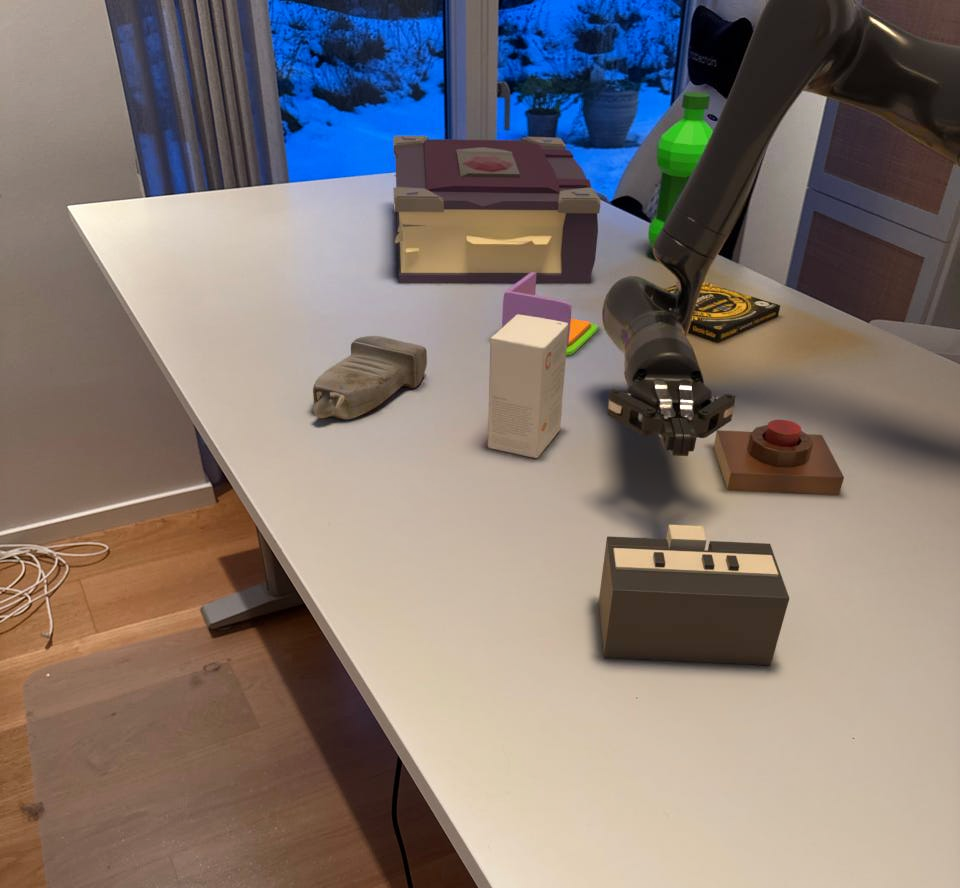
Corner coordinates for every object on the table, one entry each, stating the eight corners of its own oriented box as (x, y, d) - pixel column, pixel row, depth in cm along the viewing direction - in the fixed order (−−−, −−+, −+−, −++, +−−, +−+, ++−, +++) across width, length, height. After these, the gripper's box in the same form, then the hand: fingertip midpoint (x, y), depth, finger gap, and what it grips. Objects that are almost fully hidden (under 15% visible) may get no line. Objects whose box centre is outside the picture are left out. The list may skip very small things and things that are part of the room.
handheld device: (284, 418, 114) (280, 380, 111) (372, 361, 128) (370, 327, 125) (353, 436, 111) (350, 398, 108) (435, 376, 125) (435, 341, 122)
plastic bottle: (644, 264, 164) (666, 98, 148) (643, 246, 172) (663, 87, 156) (703, 268, 163) (731, 102, 147) (699, 249, 171) (725, 90, 155)
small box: (511, 420, 115) (516, 312, 107) (561, 430, 113) (570, 321, 105) (485, 448, 109) (488, 336, 101) (537, 460, 107) (545, 347, 99)
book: (562, 209, 189) (568, 130, 181) (602, 285, 154) (611, 192, 146) (394, 208, 187) (392, 128, 178) (395, 285, 152) (393, 190, 143)
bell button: (793, 434, 106) (797, 420, 105) (801, 449, 103) (804, 434, 102) (761, 433, 106) (764, 418, 105) (767, 448, 103) (771, 433, 102)
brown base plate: (817, 452, 110) (826, 420, 108) (838, 495, 103) (848, 462, 100) (713, 447, 111) (719, 415, 108) (727, 490, 103) (734, 457, 100)
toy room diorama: (491, 341, 135) (492, 292, 130) (524, 314, 143) (527, 267, 139) (570, 357, 131) (574, 307, 126) (600, 329, 139) (605, 281, 135)
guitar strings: (719, 330, 135) (630, 301, 144) (717, 342, 136) (629, 312, 145) (780, 305, 144) (693, 278, 153) (777, 316, 145) (691, 289, 154)
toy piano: (753, 608, 86) (772, 535, 81) (770, 665, 80) (792, 590, 75) (598, 601, 86) (607, 528, 82) (603, 657, 80) (614, 582, 75)
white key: (698, 548, 85) (703, 525, 83) (702, 563, 83) (706, 539, 82) (664, 547, 85) (668, 524, 83) (667, 561, 83) (671, 538, 82)
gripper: (602, 333, 99) (614, 405, 85) (730, 338, 98) (763, 411, 85) (595, 402, 103) (605, 480, 90) (717, 406, 103) (746, 486, 89)
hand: (682, 446), depth 87 cm, fingers closed
